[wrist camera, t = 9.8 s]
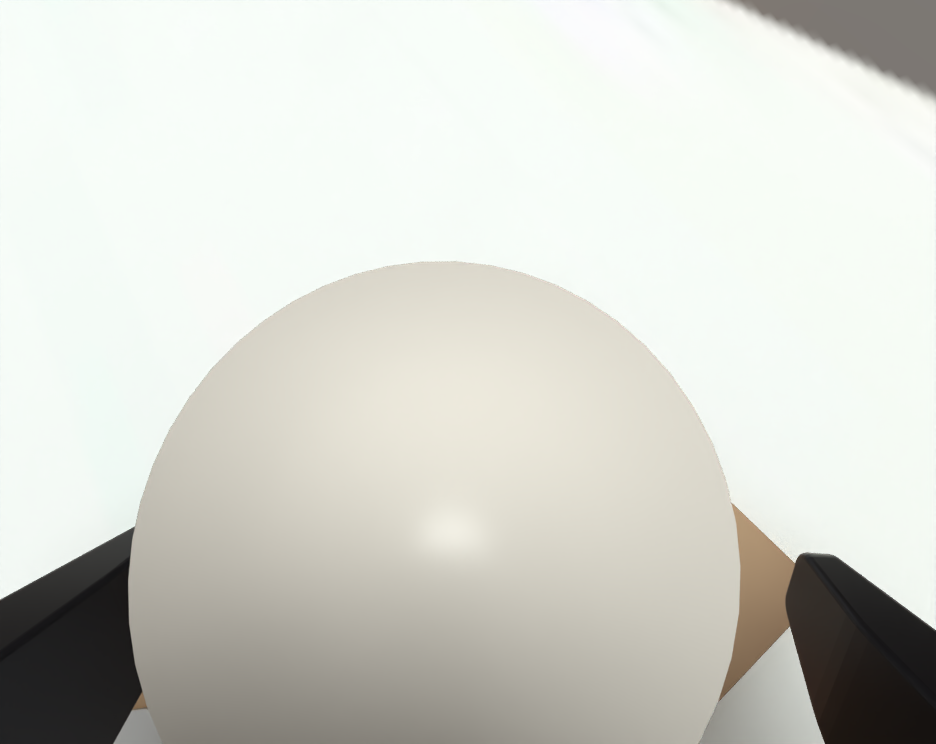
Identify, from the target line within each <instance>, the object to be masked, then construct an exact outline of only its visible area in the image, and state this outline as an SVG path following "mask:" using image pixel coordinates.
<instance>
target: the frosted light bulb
mask: <svg viewBox="0 0 936 744" xmlns="http://www.w3.org/2000/svg"><path fill="white" fill-rule="evenodd" d="M128 597H129V626H130V633H131V639H132V646H133V653H134V660H135V666H136V669H137V673H138V677H139V680H140V684H141V687H142V691H143V695H144V698H145V702H146V706H147V708H148V710H149V713H150V715H151V717H152V720H153V722H154V724H155V727H156V729H157V732H158V734H159V736H160V739H161V741H162V743H163V744H699V742H700V740H701V738H702V736H703V734H704V732H705V729H706V727H707V725H708V723H709V721H710V719H711V717H712V714H713V712H714V710H715V708H716V706H717V704H718V701H719V697H720V694H721V691H722V688H723V684H724V681H725V678H726V675H727V671H728V668H729V665H730V662H731V658H732V652H733V646H734V640H735V634H736V628H737V622H738V616H739V598H740V557H739V547H738V537H737V527H736V521H735V516H734V512H733V508H732V503H731V499H730V495H729V490H728V486H727V482H726V479H725V476H724V473H723V471H722V468H721V465H720V463H719V460H718V457H717V454H716V452H715V449H714V446H713V444H712V441H711V439H710V437H709V436H708V434H707V432H706V430H705V428H704V426H703V424H702V422H701V420H700V418H699V416H698V414H697V413H696V411H695V409H694V407H693V405H692V404H691V402H690V401H689V399H688V398H687V397H686V395H685V394H684V392H683V391H682V389H681V388H680V386H679V385H678V384H677V382H676V381H675V379H674V378H673V376H672V375H671V374H670V372H669V371H668V370H667V369H666V368H665V367H664V366H663V365H662V364H661V362H660V361H659V360H658V359H657V358H656V357H655V356H654V355H653V353H652V352H651V351H650V350H649V349H648V348H647V347H646V346H645V345H644V344H643V343H642V342H641V341H640V340H638V339H637V338H636V337H635V336H634V335H633V334H632V333H630V332H629V331H628V330H627V329H626V328H625V327H624V326H622V325H621V324H620V323H619V322H618V321H616V320H615V319H613V318H612V317H610V316H609V315H608V314H606V313H605V312H603V311H602V310H600V309H599V308H597V307H596V306H594V305H593V304H591V303H590V302H588V301H587V300H585V299H583V298H581V297H579V296H577V295H575V294H573V293H571V292H569V291H567V290H565V289H563V288H561V287H559V286H557V285H555V284H552V283H549V282H547V281H544V280H541V279H538V278H536V277H533V276H530V275H527V274H524V273H521V272H517V271H512V270H508V269H504V268H500V267H495V266H491V265H483V264H474V263H465V262H456V261H454V262H416V263H408V264H401V265H393V266H386V267H382V268H378V269H374V270H370V271H366V272H362V273H358V274H354V275H352V276H349V277H346V278H344V279H341V280H338V281H336V282H333V283H330V284H328V285H325V286H323V287H321V288H319V289H317V290H315V291H313V292H311V293H309V294H307V295H305V296H303V297H301V298H299V299H297V300H295V301H293V302H291V303H290V304H288V305H287V306H285V307H284V308H282V309H281V310H279V311H278V312H276V313H275V314H273V315H272V316H270V317H268V318H267V319H265V320H264V321H263V322H261V323H260V324H259V325H258V326H257V327H255V328H254V329H253V330H252V331H250V332H249V333H248V334H247V335H246V336H244V337H243V338H242V339H241V340H240V341H238V342H237V343H236V344H235V345H234V346H233V347H232V348H231V349H230V350H229V351H228V352H227V353H226V354H225V355H224V356H223V357H222V359H221V360H220V361H219V362H218V363H217V364H216V365H215V366H214V367H213V368H212V369H211V370H210V371H209V373H208V374H207V375H206V377H205V378H204V379H203V380H202V382H201V383H200V384H199V386H198V387H197V388H196V389H195V391H194V392H193V393H192V395H191V396H190V397H189V399H188V400H187V402H186V403H185V405H184V407H183V408H182V410H181V412H180V413H179V415H178V417H177V418H176V420H175V421H174V423H173V425H172V426H171V428H170V430H169V432H168V434H167V436H166V438H165V440H164V442H163V444H162V447H161V449H160V451H159V453H158V455H157V457H156V459H155V461H154V464H153V466H152V469H151V472H150V475H149V478H148V481H147V484H146V487H145V490H144V493H143V496H142V499H141V502H140V506H139V511H138V516H137V520H136V525H135V529H134V534H133V539H132V547H131V557H130V567H129V577H128Z"/></svg>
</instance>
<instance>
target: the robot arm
mask: <svg viewBox="0 0 936 744" xmlns="http://www.w3.org/2000/svg"><path fill="white" fill-rule="evenodd" d="M134 529H135V527H133V528H131V529H129V530H128V531H126V532H124V533H122V534H120V535H118V536H117V537H115V538H113V539H111V540H109V541H107V542H105V543H104V544H102V545H100V546H98V547H96V548H94V549H93V550H91V551H89V552H87V553H85V554H83V555H82V556H80V557H78V558H76V559H74V560H72V561H71V562H69V563H67V564H65V565H63V566H61V567H59V568H58V569H56V570H54V571H52V572H50V573H48V574H47V575H45V576H43V577H41V578H39V579H37V580H36V581H34V582H32V583H30V584H28V585H26V586H25V587H23V588H21V589H19V590H17V591H15V592H13V593H12V594H10V595H8V596H6V597H4V598H2V599H1V600H0V744H114V742H115V740H116V738H117V736H118V735H119V733H120V731H121V729H122V727H123V726H124V724H125V722H126V720H127V718H128V717H129V715H130V713H131V711H132V709H133V708H134V706H135V704H136V702H137V700H138V699H139V697H140V695H141V693H142V687H141V684H140V680H139V677H138V673H137V669H136V666H135V660H134V653H133V646H132V639H131V633H130V626H129V597H128V577H129V567H130V557H131V547H132V539H133V534H134ZM785 607H786V613H787V617H788V620H789V624H790V628H791V631H792V635H793V638H794V642H795V646H796V649H797V653H798V656H799V660H800V664H801V667H802V671H803V674H804V678H805V682H806V685H807V689H808V692H809V696H810V700H811V703H812V707H813V710H814V713H815V717H816V720H817V723H818V726H819V729H820V731H821V734H822V737H823V740H824V742H825V744H936V630H935V629H933V628H932V627H931V626H929V625H928V624H927V623H925V622H924V621H923V620H921V619H920V618H919V617H917V616H916V615H915V614H913V613H912V612H911V611H909V610H908V609H906V608H905V607H904V606H902V605H901V604H900V603H898V602H897V601H896V600H894V599H893V598H892V597H890V596H889V595H888V594H886V593H885V592H884V591H882V590H881V589H879V588H878V587H877V586H875V585H874V584H873V583H871V582H870V581H869V580H867V579H866V578H865V577H863V576H862V575H861V574H859V573H858V572H857V571H855V570H854V569H852V568H851V567H850V566H848V565H847V564H846V563H844V562H843V561H842V560H840V559H839V558H837V557H836V556H834V555H830V554H820V553H803V554H801V555H799V557H798V558H797V560H796V563H795V566H794V569H793V573H792V576H791V579H790V582H789V586H788V589H787V592H786V597H785Z"/></svg>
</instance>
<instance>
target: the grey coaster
mask: <svg viewBox="0 0 936 744" xmlns="http://www.w3.org/2000/svg"><path fill="white" fill-rule="evenodd" d="M114 744H163V743H162V741H161V739H160V736H159V734H158V732H157V729H156V727H155V724H154V722H153V720H152V717H151V715H150V713H149V710H148V708H147V707H144V708H137V709H132V711H131V713H130V715H129V717H128V718H127V720H126V722H125V724H124V726H123V727H122V729H121V731H120V733H119V735H118V736H117V738H116V740H115V742H114Z"/></svg>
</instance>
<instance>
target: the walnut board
mask: <svg viewBox="0 0 936 744" xmlns="http://www.w3.org/2000/svg"><path fill="white" fill-rule="evenodd" d="M732 508H733V512H734V516H735V521H736V527H737V537H738V547H739V557H740V598H739V616H738V622H737V628H736V634H735V640H734V646H733V652H732V658H731V662H730V665H729V668H728V671H727V675H726V678H725V681H724V684H723V688H722V691H721V694H720V697H719V701H720V700H721V699H722V698H723V696H724V695H725V694H726V693H727V692H728V691H729V690H730V689H731V688H732V687H733V686H734V685H735V684H736V683H737V682H738V681H739V680H740V678H741V677H742V676H743V675H744V674H745V673H746V672H747V671H748V670H749V669H750V668H751V667H752V666H753V665H754V664H755V663H756V661H757V660H758V659H759V658H760V657H761V656H762V655H763V654H764V653H765V652H766V651H767V650H768V649H769V648H770V647H771V646H772V644H773V643H774V642H775V641H776V640H777V639H778V638H779V637H780V636H781V635H782V634H783V633H784V632H785V631H786V630H787V629H788V628H789V626H790V624H789V620H788V617H787V613H786V607H785V597H786V592H787V589H788V586H789V582H790V579H791V576H792V573H793V569H794V566H795V563H794V562H793V561H792V560H791V559H790V558H789V557H788V556H786V555H785V554H784V553H783V552H782V551H781V550H780V549H779V548H778V547H777V546H776V545H775V544H774V543H773V542H772V541H771V540H770V539H769V538H768V537H767V536H766V535H765V534H764V533H763V532H762V531H760V530H759V529H758V528H757V527H756V526H755V525H754V524H753V523H752V522H751V521H750V520H749V519H748V518H747V517H746V516H745V515H744V514H743V513H742V512H741V511H740V510H739V509H738V508H737V507H735V506H734V505H733V504H732ZM719 701H718V702H719ZM144 707H147V706H146V702H145V698H144V695H143V691H142V693H141V695H140V697H139V699H138V700H137V702H136V704H135V706H134V708H133V709H137V708H144Z"/></svg>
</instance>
